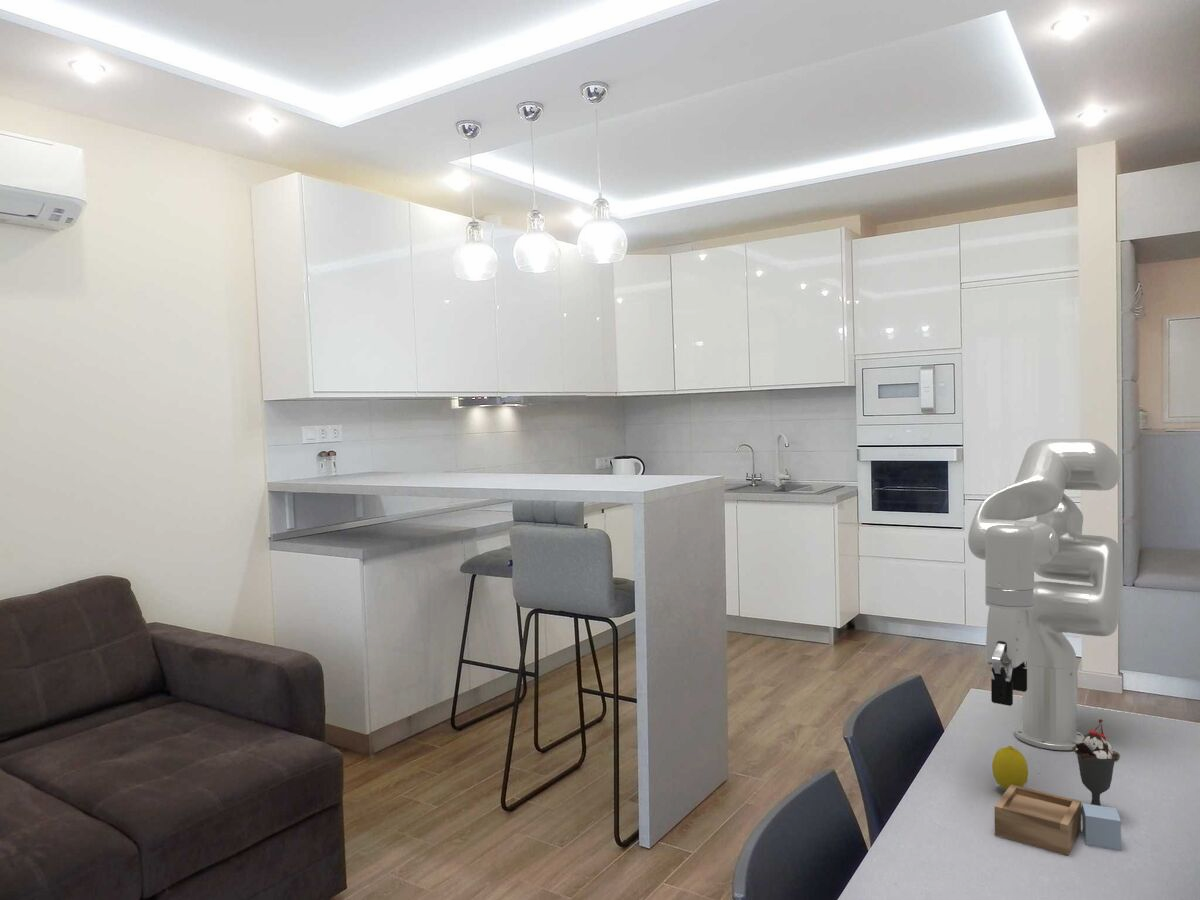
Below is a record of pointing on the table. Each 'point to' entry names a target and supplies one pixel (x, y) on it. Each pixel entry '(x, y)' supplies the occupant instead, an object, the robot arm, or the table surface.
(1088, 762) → the sundae
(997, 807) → the wooden open box
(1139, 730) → the table surface
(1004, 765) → the lemon
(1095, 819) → the slate cube
